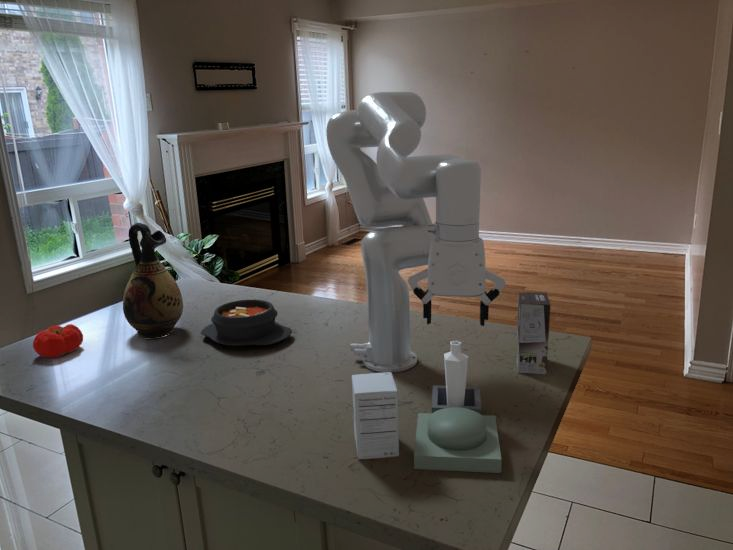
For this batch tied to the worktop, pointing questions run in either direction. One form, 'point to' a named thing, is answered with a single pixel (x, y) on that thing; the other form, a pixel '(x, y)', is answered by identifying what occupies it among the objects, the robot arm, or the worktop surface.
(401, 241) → the robot arm
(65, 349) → the tomato
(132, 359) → the worktop surface
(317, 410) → the worktop surface
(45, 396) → the worktop surface
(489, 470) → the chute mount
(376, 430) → the supplement box
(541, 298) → the coffee box
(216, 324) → the casserole
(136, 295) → the ceramic jug
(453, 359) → the perfume bottle
